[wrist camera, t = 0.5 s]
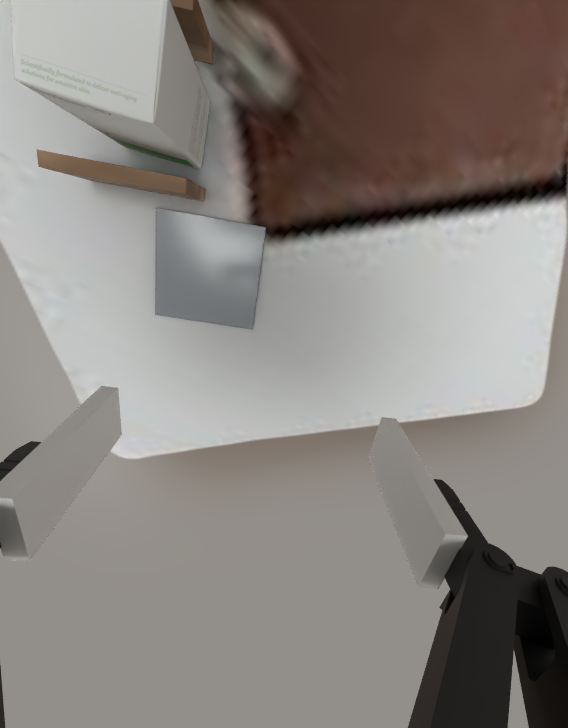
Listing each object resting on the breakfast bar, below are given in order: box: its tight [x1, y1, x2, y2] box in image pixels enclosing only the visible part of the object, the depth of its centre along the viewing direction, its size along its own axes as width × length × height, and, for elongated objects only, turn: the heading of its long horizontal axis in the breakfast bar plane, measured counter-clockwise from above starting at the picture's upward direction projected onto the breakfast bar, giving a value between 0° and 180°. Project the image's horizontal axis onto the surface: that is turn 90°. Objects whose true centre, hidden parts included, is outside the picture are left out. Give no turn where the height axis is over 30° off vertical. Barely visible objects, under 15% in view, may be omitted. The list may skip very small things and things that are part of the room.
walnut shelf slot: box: [37, 0, 214, 201], centre depth 28 cm, size 13×12×8 cm
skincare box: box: [10, 0, 210, 169], centre depth 24 cm, size 8×7×16 cm
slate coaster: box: [155, 208, 266, 329], centre depth 37 cm, size 12×12×1 cm
